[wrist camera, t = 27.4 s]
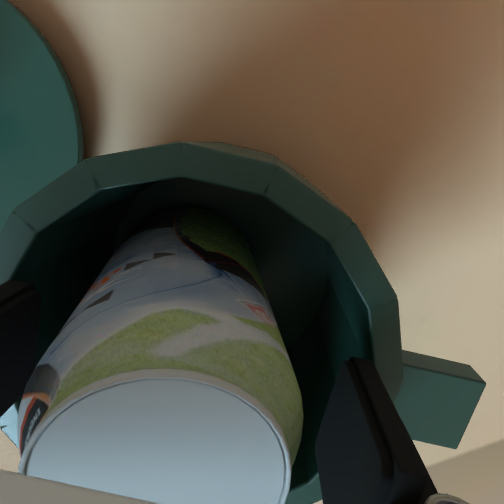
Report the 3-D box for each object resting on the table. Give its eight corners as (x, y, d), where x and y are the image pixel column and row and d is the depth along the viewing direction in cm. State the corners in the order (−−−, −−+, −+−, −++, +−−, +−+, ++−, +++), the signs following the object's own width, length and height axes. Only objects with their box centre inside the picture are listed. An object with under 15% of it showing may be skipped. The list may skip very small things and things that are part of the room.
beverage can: (131, 192, 17) (-134, 292, 6) (294, 216, 17) (352, 362, 6) (124, 320, 19) (-93, 592, 8) (272, 342, 19) (283, 645, 8)
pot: (355, 408, 21) (414, 583, 12) (36, 336, 20) (-123, 470, 12) (432, 192, 17) (579, 236, 9) (56, 102, 17) (-140, 65, 9)
